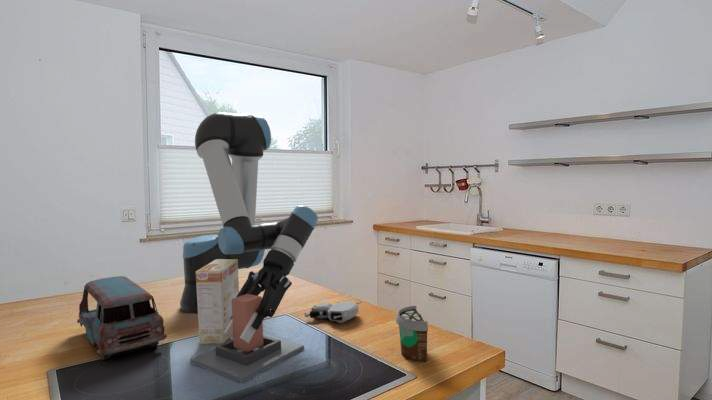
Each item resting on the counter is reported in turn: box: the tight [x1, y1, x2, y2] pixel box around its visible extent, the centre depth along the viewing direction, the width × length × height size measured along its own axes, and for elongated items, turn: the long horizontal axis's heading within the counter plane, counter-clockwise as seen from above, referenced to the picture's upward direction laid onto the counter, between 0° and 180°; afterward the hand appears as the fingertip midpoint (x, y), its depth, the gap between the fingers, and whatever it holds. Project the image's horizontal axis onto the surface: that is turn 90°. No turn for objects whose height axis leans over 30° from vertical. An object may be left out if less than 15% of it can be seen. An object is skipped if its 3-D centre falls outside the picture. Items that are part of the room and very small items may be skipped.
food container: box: [395, 305, 429, 363], centre depth 102 cm, size 12×6×10 cm, turn 5°
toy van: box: [76, 275, 168, 361], centre depth 114 cm, size 16×32×15 cm, turn 41°
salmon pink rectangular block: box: [232, 294, 264, 352], centre depth 103 cm, size 5×5×12 cm
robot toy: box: [304, 301, 362, 324], centre depth 128 cm, size 12×4×15 cm
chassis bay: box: [189, 333, 305, 384], centre depth 103 cm, size 18×20×3 cm
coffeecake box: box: [195, 259, 240, 345], centre depth 118 cm, size 15×7×20 cm, turn 178°
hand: (236, 337), depth 100 cm, fingers closed on salmon pink rectangular block, 5 cm apart
